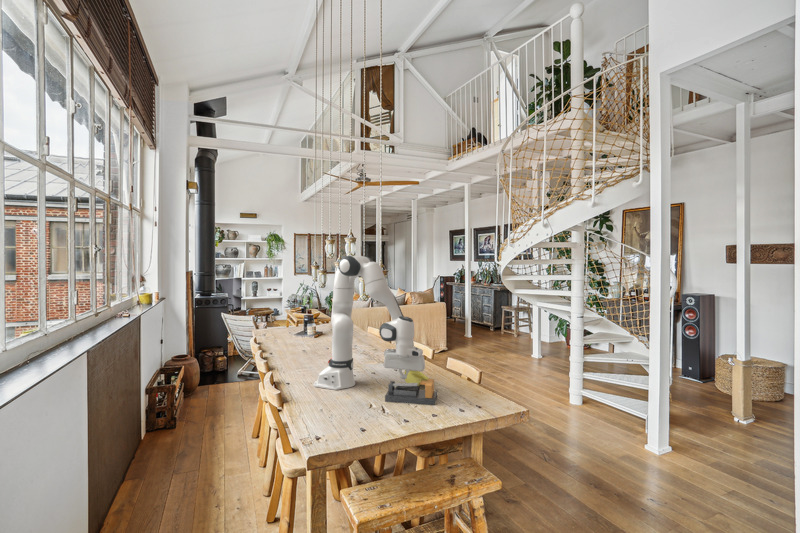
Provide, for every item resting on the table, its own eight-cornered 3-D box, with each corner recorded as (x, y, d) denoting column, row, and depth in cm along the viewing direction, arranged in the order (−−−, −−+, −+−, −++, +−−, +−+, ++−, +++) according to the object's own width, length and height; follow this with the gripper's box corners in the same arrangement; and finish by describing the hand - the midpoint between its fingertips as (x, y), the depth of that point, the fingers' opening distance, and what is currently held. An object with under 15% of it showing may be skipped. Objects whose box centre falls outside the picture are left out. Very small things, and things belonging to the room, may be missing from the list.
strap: (389, 386, 193) (389, 384, 193) (391, 385, 195) (390, 382, 195) (417, 386, 190) (417, 384, 190) (418, 384, 193) (417, 382, 193)
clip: (418, 397, 186) (418, 384, 186) (422, 390, 196) (422, 378, 196) (431, 398, 185) (431, 385, 185) (434, 391, 195) (434, 379, 195)
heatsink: (385, 401, 189) (384, 386, 189) (390, 393, 200) (390, 379, 200) (434, 405, 184) (434, 389, 184) (437, 397, 195) (437, 382, 195)
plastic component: (435, 382, 210) (420, 377, 206) (429, 395, 210) (414, 390, 206) (418, 370, 228) (404, 364, 224) (413, 382, 228) (399, 376, 223)
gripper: (382, 349, 191) (381, 378, 192) (423, 353, 187) (422, 382, 187) (385, 347, 197) (385, 374, 198) (426, 350, 193) (425, 378, 193)
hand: (403, 378), depth 192 cm, fingers closed
